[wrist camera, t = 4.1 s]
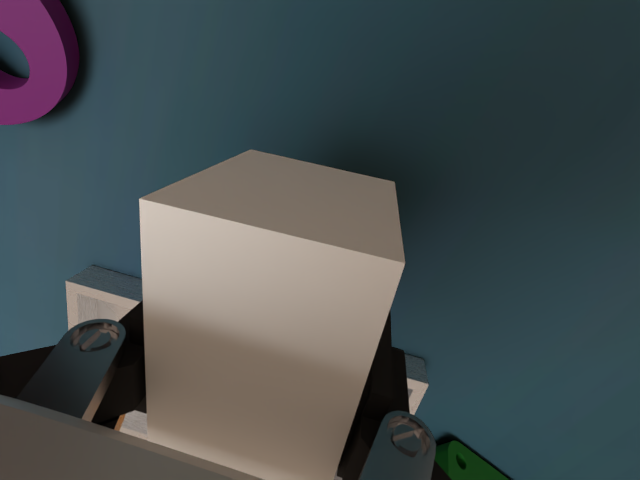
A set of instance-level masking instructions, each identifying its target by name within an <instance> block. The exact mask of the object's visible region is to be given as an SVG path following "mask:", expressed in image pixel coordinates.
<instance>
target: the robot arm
mask: <svg viewBox="0 0 640 480" xmlns="http://www.w3.org/2000/svg"><path fill="white" fill-rule="evenodd" d="M134 410H136V411H139V412H142V413H145V414H147V404H146V376H145V347H144V319H143V300H142V301H141V302H140V303H139V304H137V305H136V306H135V307H134V308H133V309H132V310H130V311H129V312H128V313H127V314H126V315H125V316H124V317H122V318H121V319H120V320H119V321H118V322H117V321H115V320H110V319H93V320H88V321H85V322H82V323H79V324H77V325H76V326H74V327H72V328H71V329H70V330H69V331H68V332H66V333H65V335H64V336H63V337H62V339H61V340H60V341H59V343H58V344H57V345H54V346H49V347H44V348H39V349H34V350H30V351H25V352H20V353H15V354H10V355H6V356H1V357H0V480H265V479H262V478H259V477H256V476H253V475H250V474H247V473H244V472H241V471H238V470H235V469H232V468H229V467H226V466H223V465H220V464H217V463H214V462H211V461H208V460H205V459H202V458H199V457H196V456H193V455H190V454H187V453H183V452H180V451H177V450H174V449H171V448H168V447H165V446H162V445H159V444H156V443H153V442H150V441H147V440H144V439H141V438H138V437H135V436H132V435H129V434H126V433H123V432H120V431H119V430H120V428H121V426H122V423H123V421H124V418H125V415H126V413H129V412H132V411H134ZM435 454H436V443H435V439H434V436H433V434H432V433H431V431H430V429H429V428H428V427H427V426H426V425H425V423H424V422H423V421H422V420H420V419H419V418H417V417H416V416H415V415H412V414H410V409H409V397H408V385H407V373H406V361H405V353H404V351H403V350H401V349H398V348H394V347H392V346H391V316H390V311H389V314H388V317H387V320H386V323H385V326H384V329H383V332H382V335H381V338H380V341H379V344H378V347H377V350H376V353H375V356H374V359H373V362H372V365H371V368H370V371H369V374H368V377H367V380H366V383H365V386H364V389H363V392H362V395H361V398H360V401H359V404H358V407H357V410H356V413H355V416H354V419H353V422H352V425H351V428H350V431H349V434H348V437H347V440H346V443H345V446H344V449H343V452H342V455H341V458H340V461H339V464H338V469H337V476H338V477H341V478H342V480H452V479H451V478H450V477H449V476H448V475H447V474H446V473H445V471H444V470H443V469H442V468H441V467H440V466H439V465H438V463H437V462H436V461H435V460H434V459H435Z"/></svg>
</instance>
